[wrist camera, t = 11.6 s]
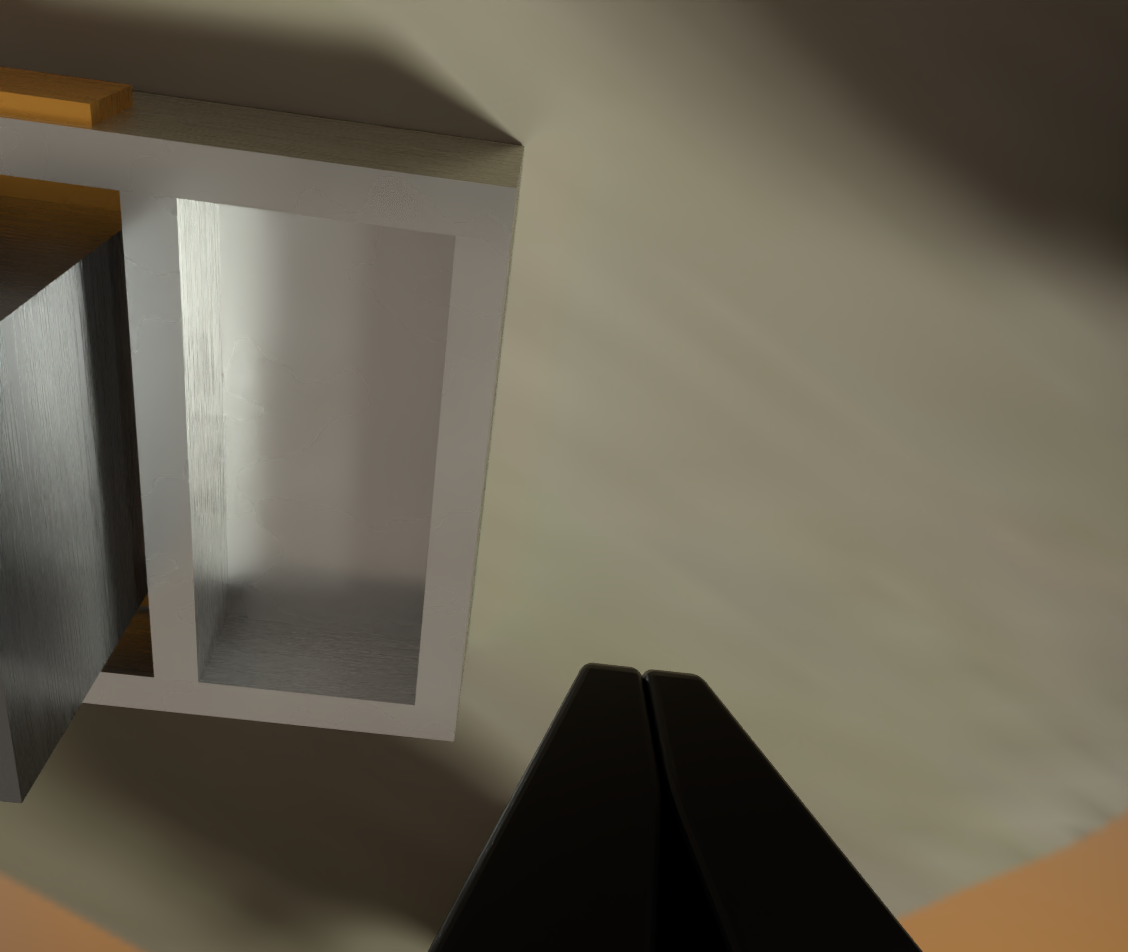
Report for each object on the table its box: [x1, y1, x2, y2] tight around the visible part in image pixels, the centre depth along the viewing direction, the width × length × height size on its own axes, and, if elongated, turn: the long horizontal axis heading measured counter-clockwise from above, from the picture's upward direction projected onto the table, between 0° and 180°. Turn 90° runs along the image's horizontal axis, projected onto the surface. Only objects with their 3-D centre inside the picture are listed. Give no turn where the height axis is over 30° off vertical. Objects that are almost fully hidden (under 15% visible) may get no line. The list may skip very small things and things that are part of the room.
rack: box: [0, 67, 524, 742], centre depth 18 cm, size 15×11×3 cm
